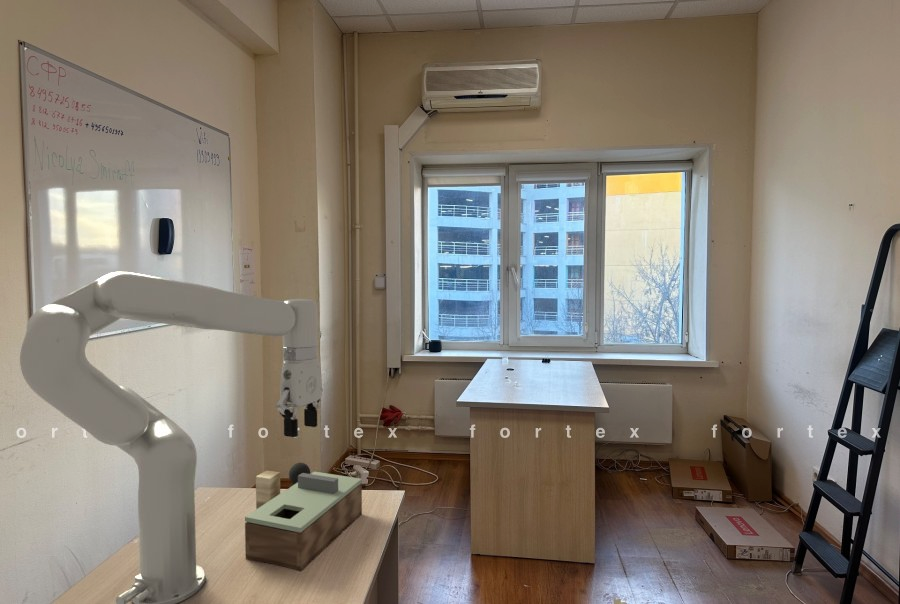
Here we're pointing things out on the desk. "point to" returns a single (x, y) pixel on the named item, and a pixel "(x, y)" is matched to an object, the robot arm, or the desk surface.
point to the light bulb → (297, 472)
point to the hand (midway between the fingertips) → (301, 430)
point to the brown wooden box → (301, 535)
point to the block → (267, 487)
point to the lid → (304, 501)
